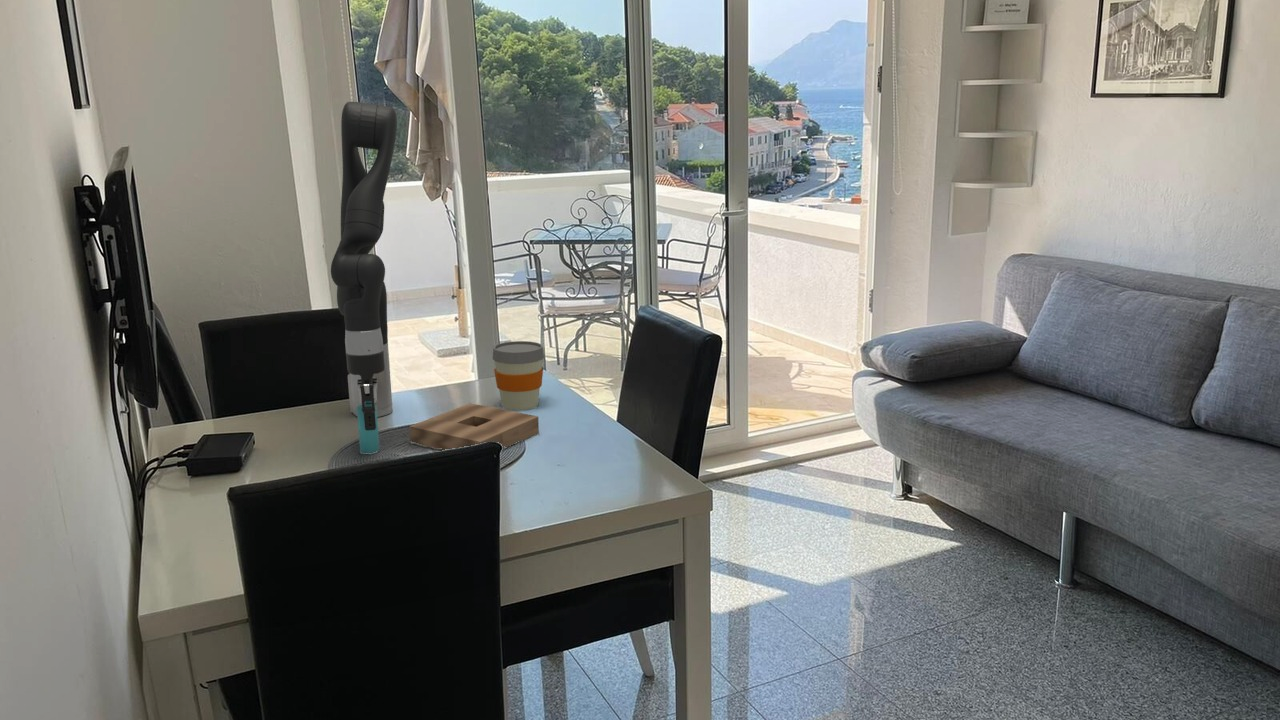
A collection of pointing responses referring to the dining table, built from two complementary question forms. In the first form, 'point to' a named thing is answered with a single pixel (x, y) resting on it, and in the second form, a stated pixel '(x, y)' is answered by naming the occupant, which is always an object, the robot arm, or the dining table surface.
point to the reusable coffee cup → (518, 373)
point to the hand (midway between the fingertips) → (370, 423)
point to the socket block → (474, 427)
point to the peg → (367, 433)
